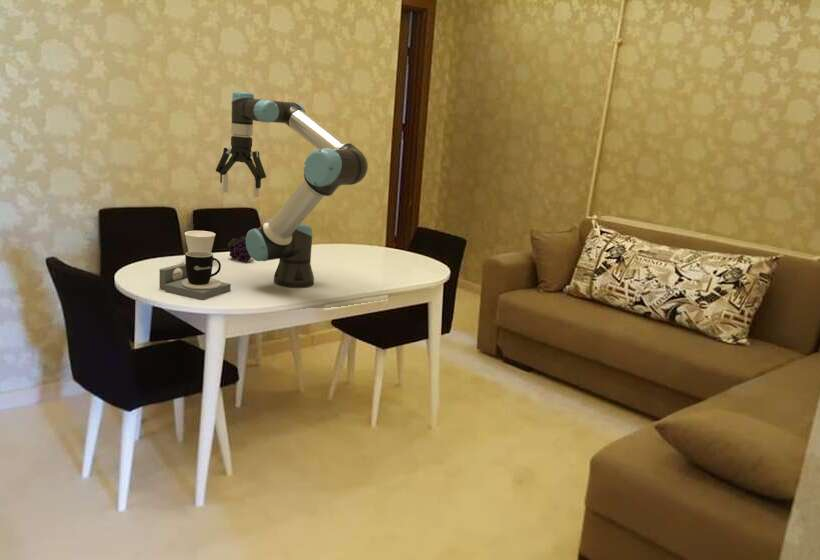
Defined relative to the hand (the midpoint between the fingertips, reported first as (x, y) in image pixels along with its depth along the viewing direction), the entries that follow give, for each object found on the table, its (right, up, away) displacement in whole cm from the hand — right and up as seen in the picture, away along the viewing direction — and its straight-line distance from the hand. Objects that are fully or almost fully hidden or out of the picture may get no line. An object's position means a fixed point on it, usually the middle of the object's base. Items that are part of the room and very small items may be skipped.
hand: (239, 194), depth 242 cm
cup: (-22, -25, +23) cm, 41 cm away
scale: (-12, -35, -14) cm, 40 cm away
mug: (-9, -33, -16) cm, 37 cm away
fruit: (-9, -23, +36) cm, 44 cm away
